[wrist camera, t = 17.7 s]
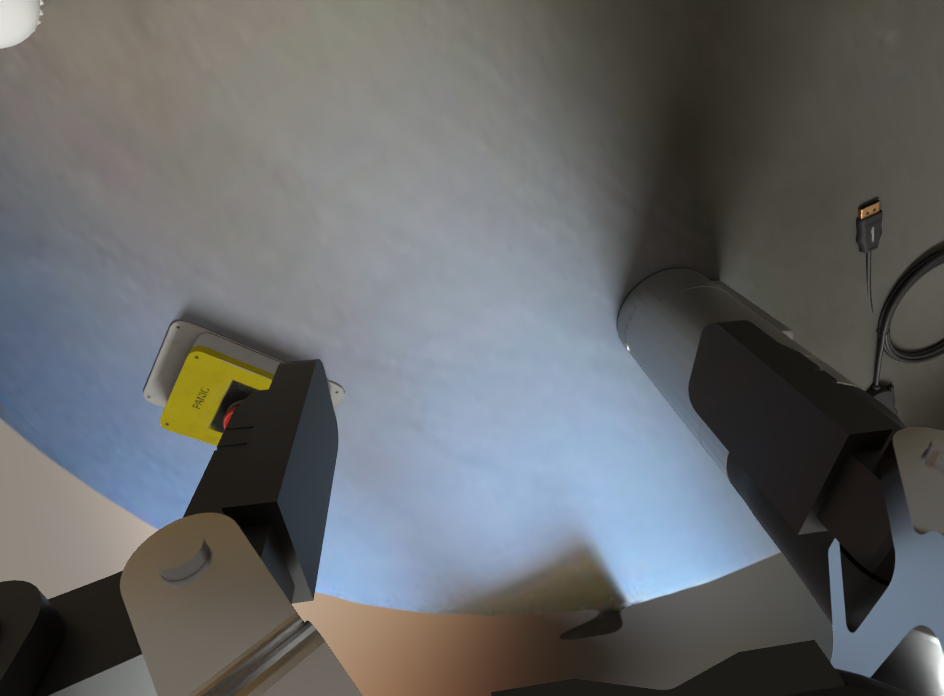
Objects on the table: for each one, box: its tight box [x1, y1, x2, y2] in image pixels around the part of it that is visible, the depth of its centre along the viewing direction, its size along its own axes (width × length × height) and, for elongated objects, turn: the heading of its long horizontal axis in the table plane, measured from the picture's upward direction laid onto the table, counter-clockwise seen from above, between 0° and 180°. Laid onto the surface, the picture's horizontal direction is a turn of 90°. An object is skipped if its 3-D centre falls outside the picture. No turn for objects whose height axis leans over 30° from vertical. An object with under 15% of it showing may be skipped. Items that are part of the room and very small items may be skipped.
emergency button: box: [143, 321, 345, 446], centre depth 41 cm, size 9×4×15 cm
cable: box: [856, 200, 944, 415], centre depth 47 cm, size 14×28×2 cm, turn 25°
